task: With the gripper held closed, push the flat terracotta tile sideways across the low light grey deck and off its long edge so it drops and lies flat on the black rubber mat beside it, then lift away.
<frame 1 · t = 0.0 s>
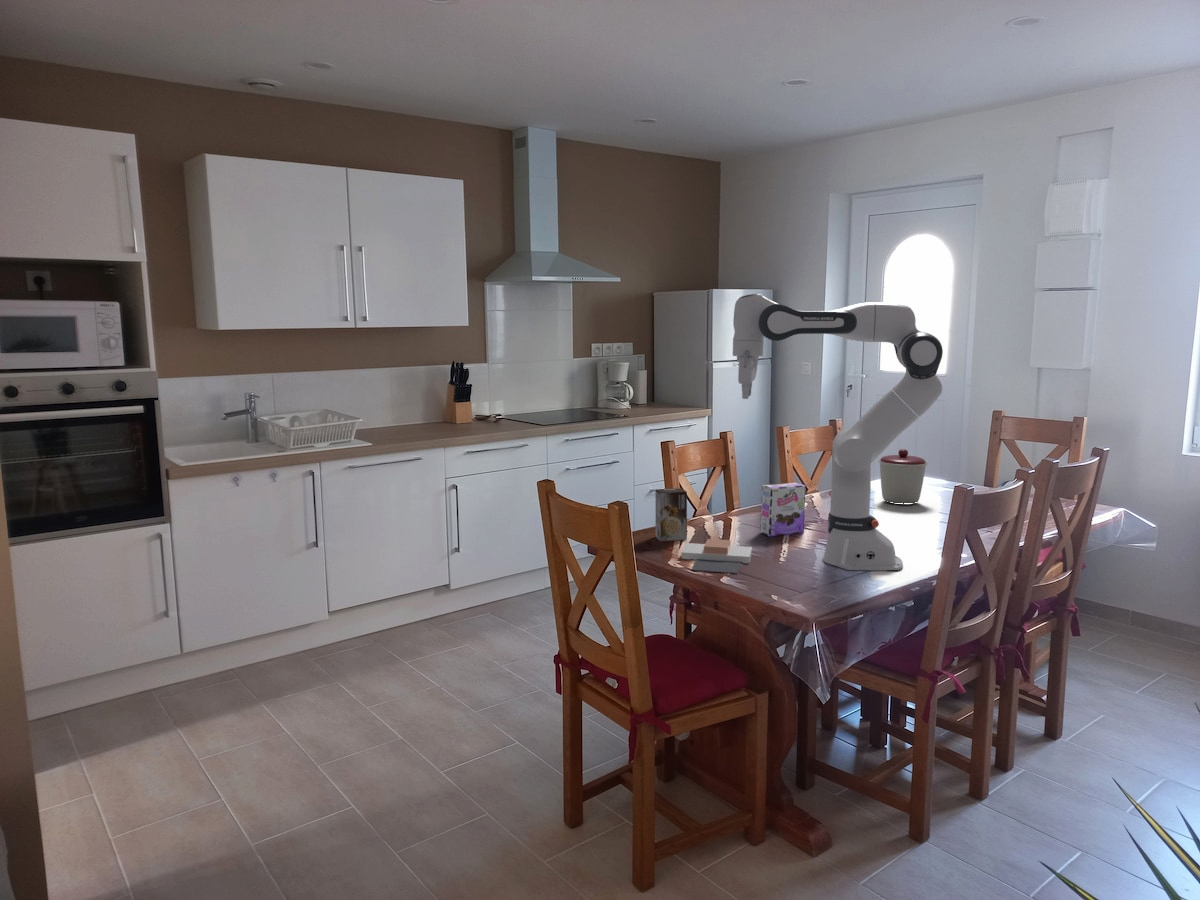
hand: (746, 397, 253), 48 cm above the table, tool pointing down, fingers open, 8 cm apart
mat: (716, 567, 247), on the table
canister: (900, 503, 333), on the table
tile: (717, 549, 258), point 2 cm above the table, touching deck
deck: (717, 556, 258), on the table
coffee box: (670, 539, 279), on the table
candy box: (782, 533, 286), on the table
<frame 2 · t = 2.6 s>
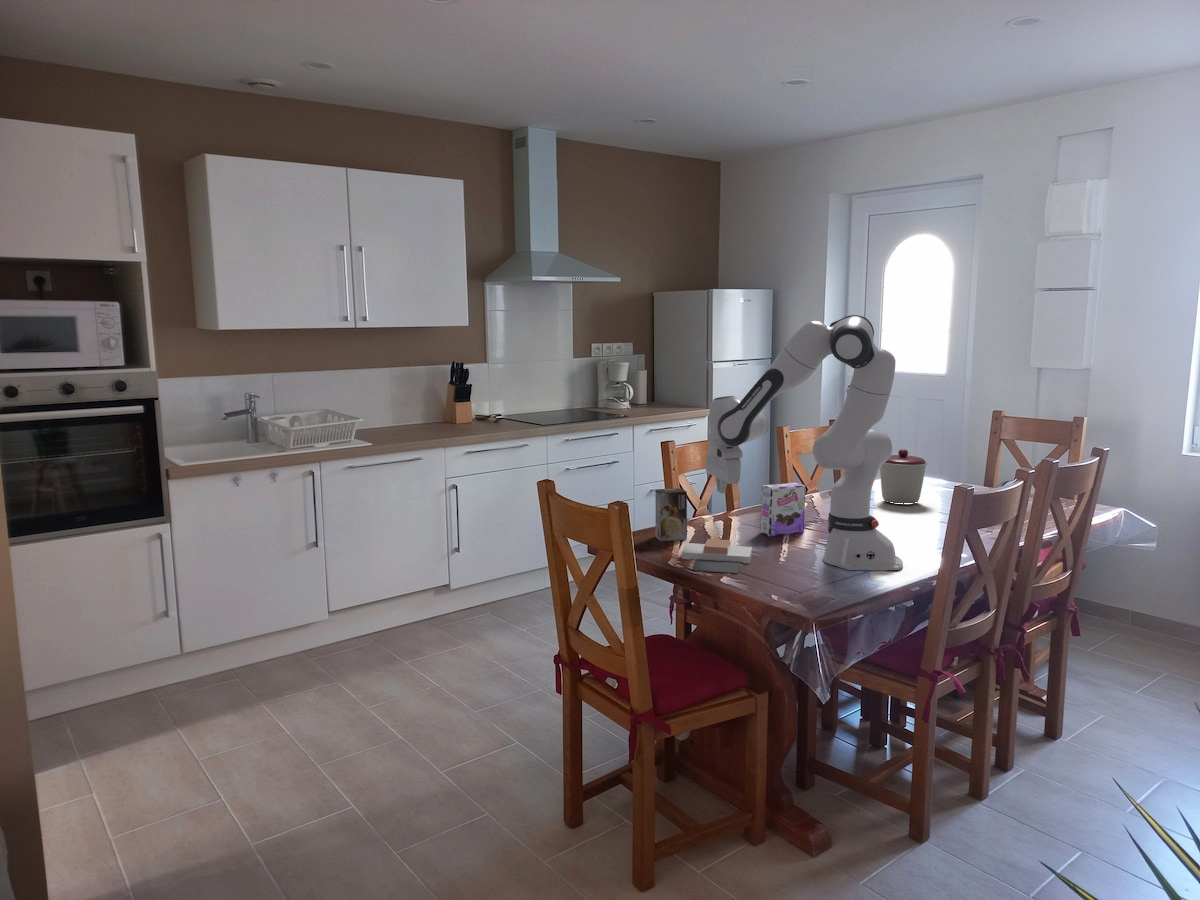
hand: (721, 492, 265), 18 cm above the table, tool pointing down, fingers closed
nothing on the table moved.
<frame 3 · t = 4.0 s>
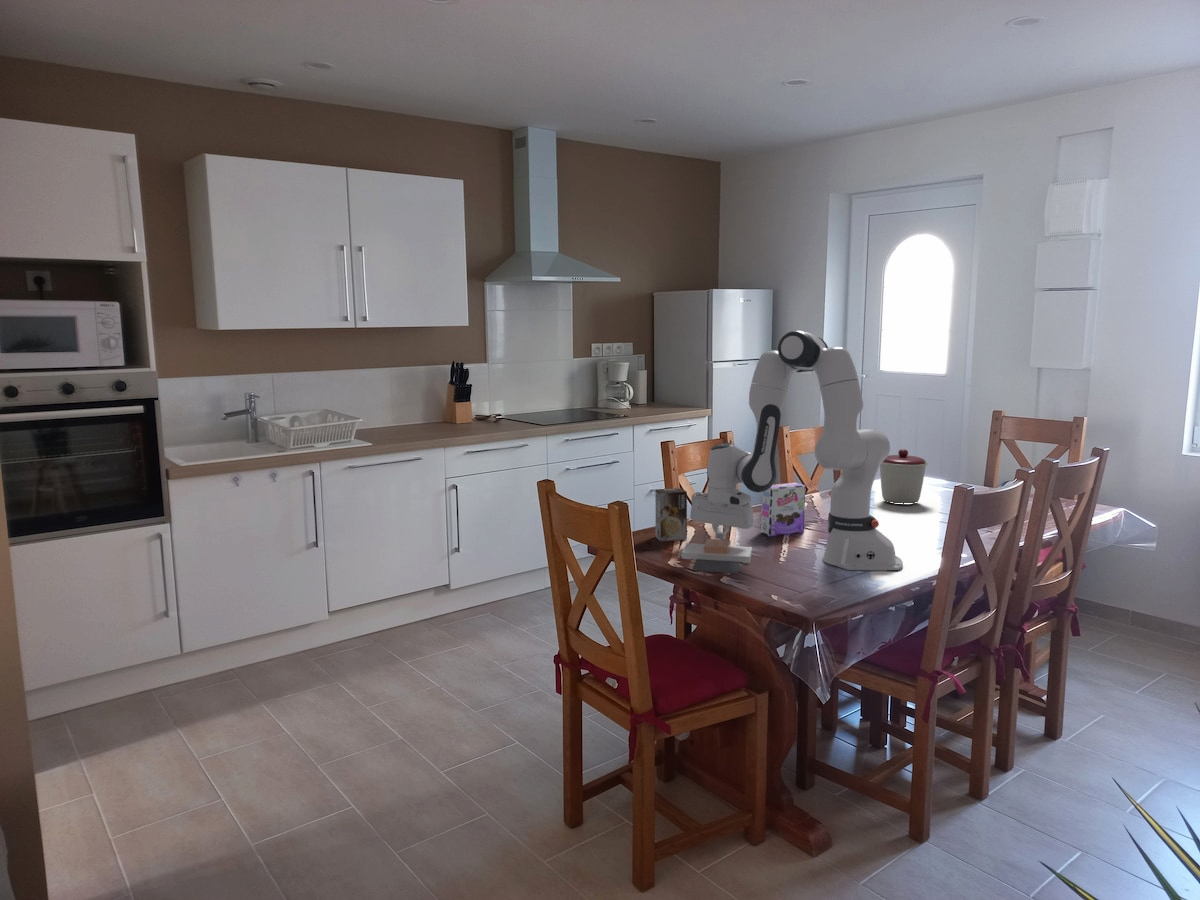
hand: (720, 538, 267), 3 cm above the table, tool pointing down, fingers closed
nothing on the table moved.
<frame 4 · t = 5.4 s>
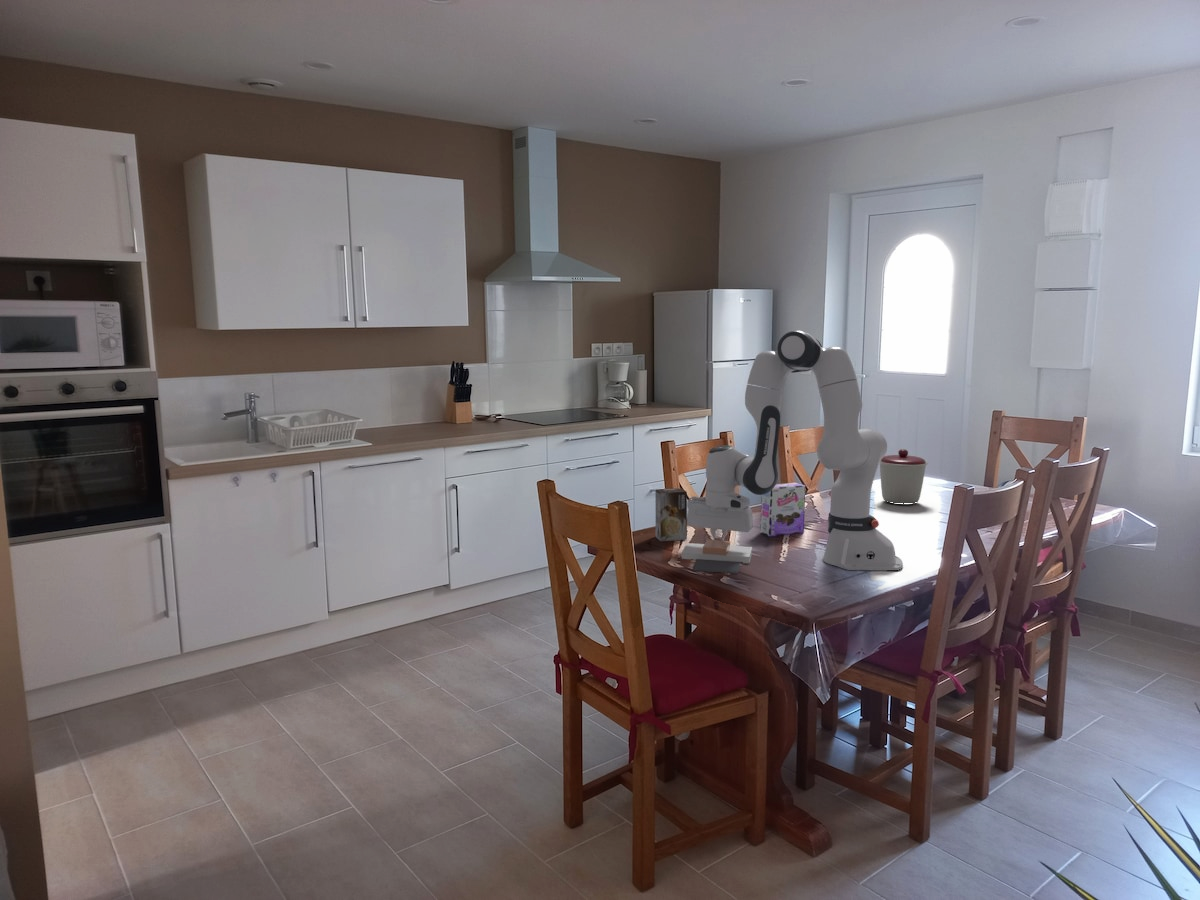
hand: (719, 543, 262), 3 cm above the table, tool pointing down, fingers closed
tile: (716, 550, 257), point 2 cm above the table
everything else where it was.
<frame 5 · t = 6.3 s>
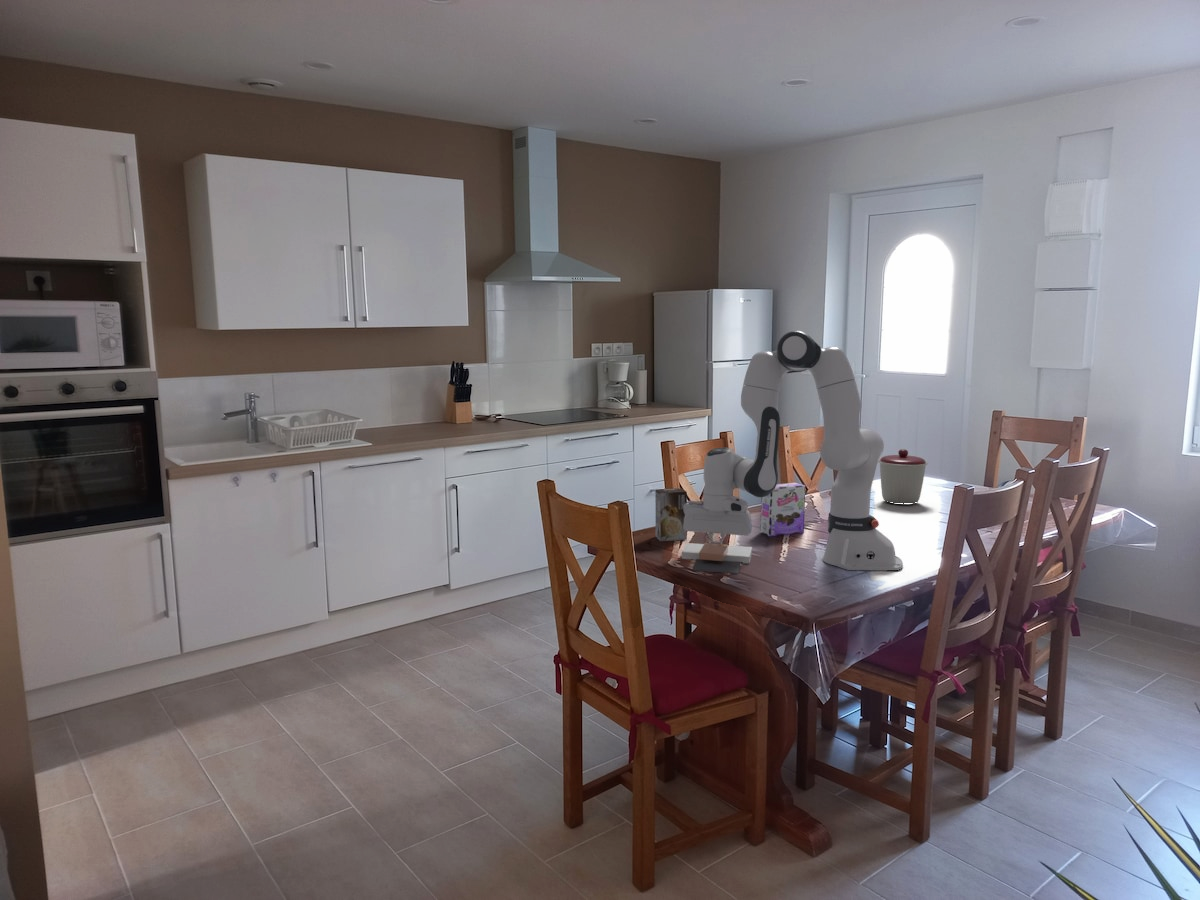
hand: (716, 547, 257), 3 cm above the table, tool pointing down, fingers closed, pressing on tile
tile: (713, 555, 252), point 2 cm above the table, touching deck, gripper
everything else where it was.
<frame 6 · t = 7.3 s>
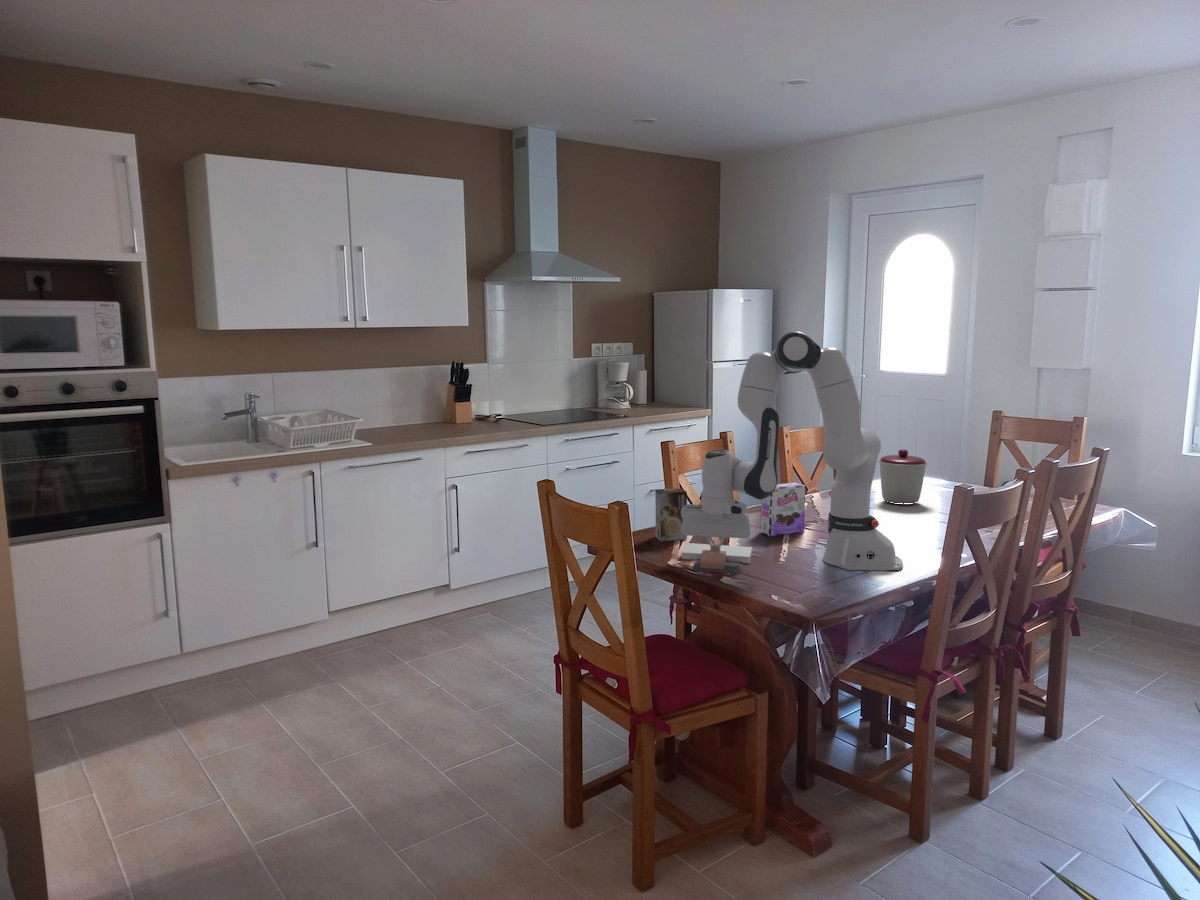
hand: (715, 551, 253), 3 cm above the table, tool pointing down, fingers closed
tile: (713, 562, 248), point 1 cm above the table, tilted 6°, touching gripper
everything else where it was.
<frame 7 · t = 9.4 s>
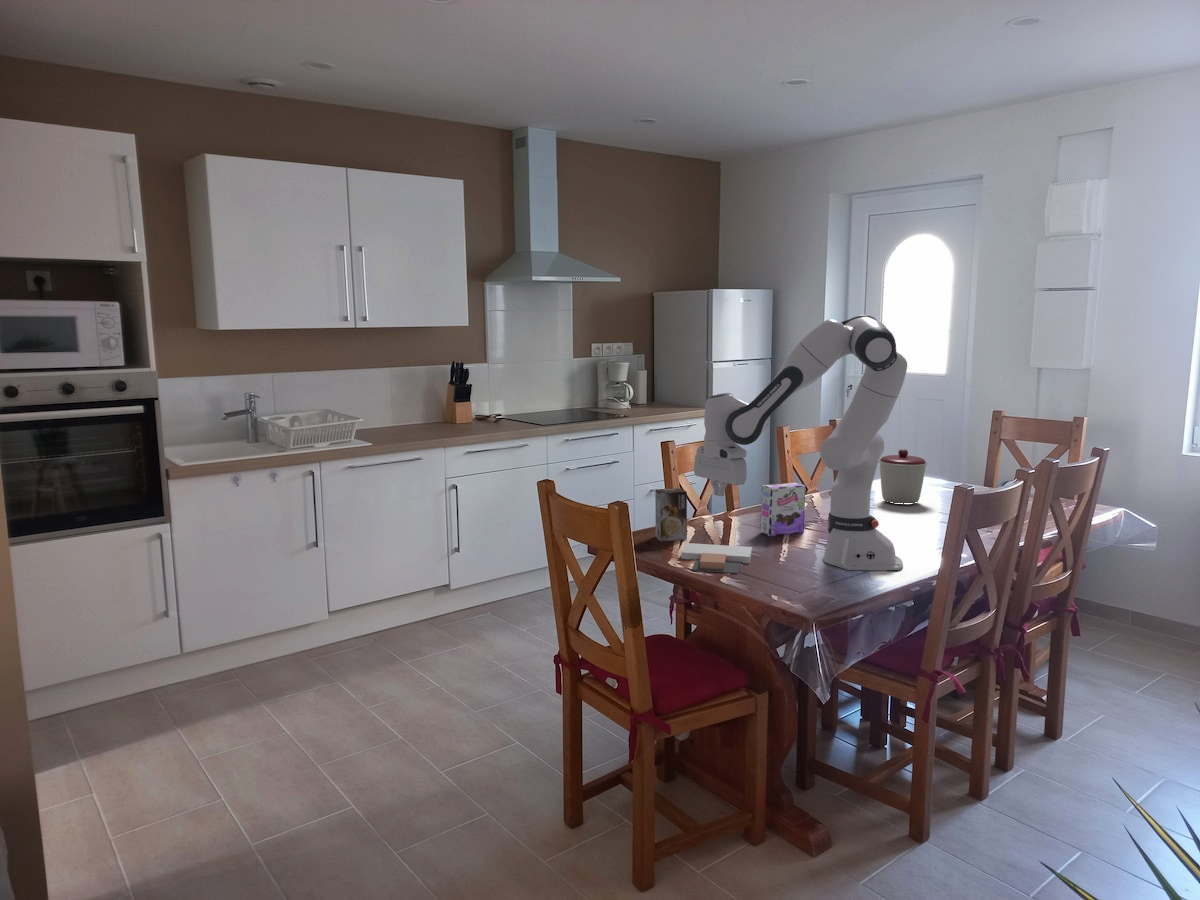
hand: (718, 495, 251), 20 cm above the table, tool pointing down, fingers closed
tile: (713, 564, 248), resting on mat
everything else where it was.
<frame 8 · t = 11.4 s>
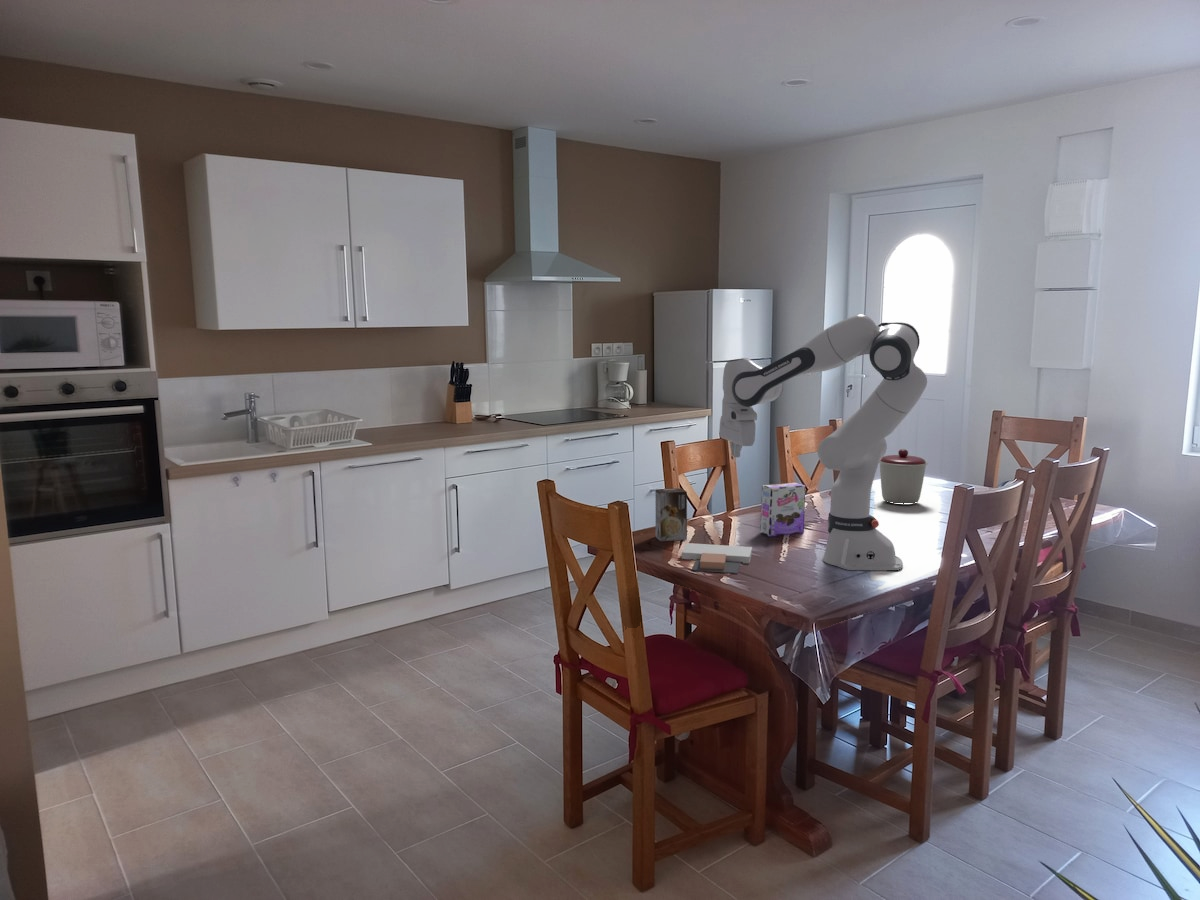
hand: (735, 456, 262), 29 cm above the table, tool pointing down, fingers closed
nothing on the table moved.
at the end: tile resting on mat; tile inside the target area on the mat (1.6 cm from its centre), point 0.4 cm above the mat's base; tile tilted 0° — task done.
